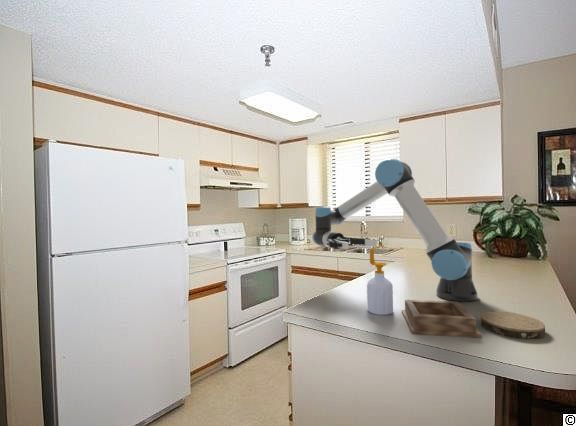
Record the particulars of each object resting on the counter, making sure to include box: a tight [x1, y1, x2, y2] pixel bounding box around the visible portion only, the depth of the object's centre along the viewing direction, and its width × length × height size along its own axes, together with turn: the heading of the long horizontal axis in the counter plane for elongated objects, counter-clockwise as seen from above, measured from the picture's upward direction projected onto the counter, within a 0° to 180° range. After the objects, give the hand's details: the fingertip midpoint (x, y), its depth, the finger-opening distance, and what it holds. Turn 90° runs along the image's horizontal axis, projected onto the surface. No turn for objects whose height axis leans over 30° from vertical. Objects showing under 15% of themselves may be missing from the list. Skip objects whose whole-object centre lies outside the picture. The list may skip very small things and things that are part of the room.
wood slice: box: [480, 310, 546, 341], centre depth 93 cm, size 16×16×3 cm
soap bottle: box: [366, 244, 394, 316], centre depth 112 cm, size 9×9×25 cm
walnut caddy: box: [401, 299, 483, 339], centre depth 99 cm, size 19×19×5 cm
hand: (361, 244), depth 121 cm, fingers open, 13 cm apart
